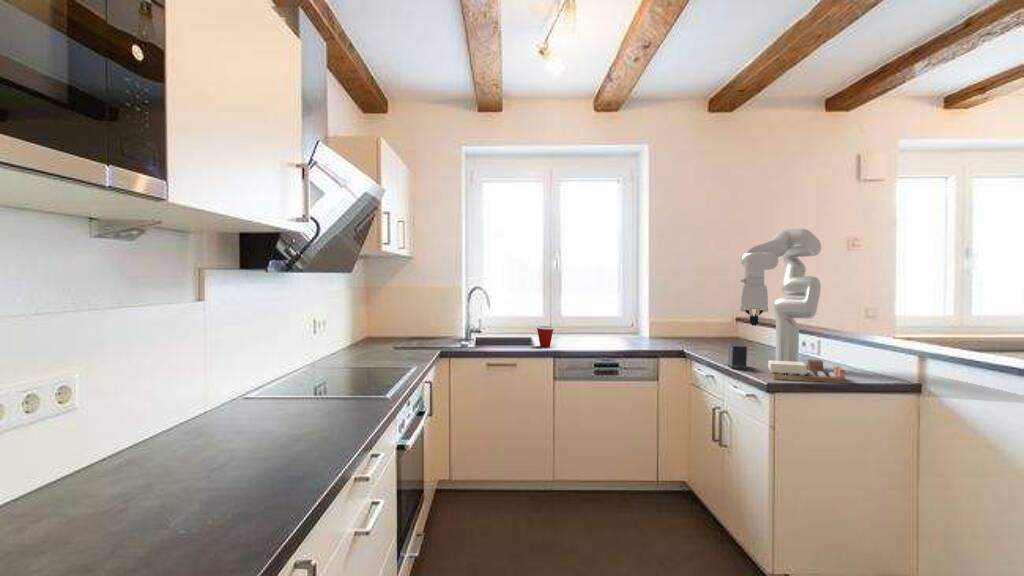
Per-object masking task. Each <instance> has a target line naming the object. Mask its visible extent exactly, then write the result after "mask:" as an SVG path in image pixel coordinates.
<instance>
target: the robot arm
mask: <svg viewBox="0 0 1024 576" xmlns="http://www.w3.org/2000/svg"><path fill="white" fill-rule="evenodd" d="M821 244H822V243H821V241H820V240H819V238H818V237H817V236H816V235H815V234H814V233H812V231H810V230H808V229H807V228H795V229H794V228H793V229H783V230H781V231H779V232H778V233H777V234H775V235H774V237H772V238H771V239H770V240H768V241H766V242H763V243H760V244H757V245H755V246H753V247H750V248H749V249H747V251H745V252H744V253H743V255H742V257H741V261H740V263H741V266H742V268H743V269H744V278H741V279H740V283H743V284H744V285H742V287H741V294H740V309H739V310H740V311H741V312H743V313H746V314H747V315H749V324H751V326H752V327H753V326H755V327H756V326H757V325H758V324H759V316H760V315H762V313H766V312H767V313H768V312H769V296H768V295H769V293H768V287H767V285H765V271H770V270H774V269H776V267H778V264H779V258H781V257H782V260H783V263H784V265H785V269H784V272H783V273H784V274H783V279H782V284H781V293H782V294H783V295H785V296H784V297H779V298H777V299H775V301H774V303H773V311H774V317H775V318H774V319H775V359H774V360H773V361H793V362H800V361H799V359H800V358H799V354H800V350H799V349H800V348H799V347H800V346H799V345H800V327H799V325H798V323H797V321H796V320H795V319H802V320H808V319H813V318H814V317H815V316H816V314H817V310H818V307H819V301H820V295H821V288H822V287H821V281H820V279H819V278H818V277H816V276H812V275H811V276H810V275H807V276H806V270H807V269H806V266H805V264H804V263H803V261H802V260H801V259H800V257H801V258H802V257H804V258H805V257H816V256H818V255H819V254H820V253H821V250H822V245H821ZM753 310H755V314H753Z"/></svg>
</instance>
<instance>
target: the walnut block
mask: <svg viewBox="0 0 1024 576" xmlns="http://www.w3.org/2000/svg"><path fill="white" fill-rule="evenodd" d="M806 359H807V360H806V361H807V363H806V365H807V371H814V372H819V371H822V372H824V360H822V359H814V358H813V359H808V358H806Z"/></svg>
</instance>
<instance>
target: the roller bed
mask: <svg viewBox="0 0 1024 576" xmlns="http://www.w3.org/2000/svg"><path fill="white" fill-rule="evenodd" d="M770 373H771V374H770ZM845 373H846V371H845V369H844V368H842V367H841V366H840V365H835V364H834V365H833V371H828V372H826V371H823V372H822V371H819V372H814V371H806V374H794V373H777V372H770V371H769V374H770V375H771V377H772V379H773V378H774V379H773V380H782V379H788V380H787V381H798V380H805V381H804V382H814V381H823V382H822V383H831V382H834V383H835V384H846V378H845V376H846V375H845ZM784 374H786V375H784ZM805 375H807V376H805Z"/></svg>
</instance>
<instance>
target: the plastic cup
mask: <svg viewBox="0 0 1024 576" xmlns="http://www.w3.org/2000/svg"><path fill="white" fill-rule="evenodd" d="M535 327H536V329H537V335H538V341H539V346H540V348H550V347H551V344H552V343H551V342H552V339H553V333H554V330H555V326H552V325H542V324H541V325H536V326H535Z"/></svg>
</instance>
